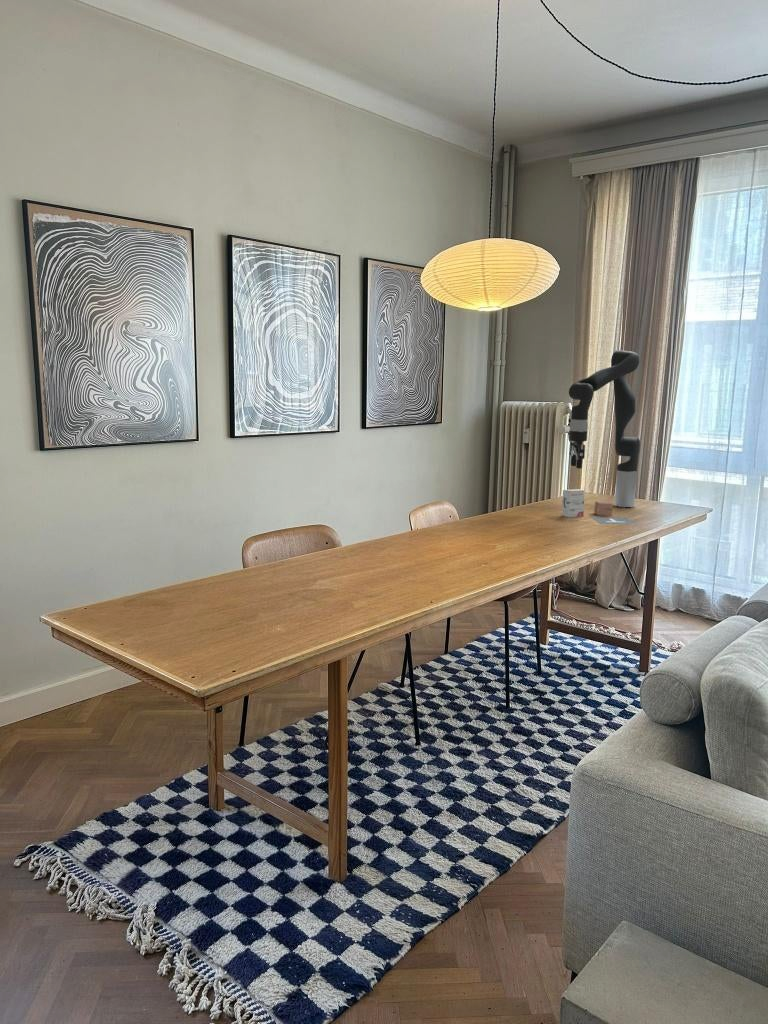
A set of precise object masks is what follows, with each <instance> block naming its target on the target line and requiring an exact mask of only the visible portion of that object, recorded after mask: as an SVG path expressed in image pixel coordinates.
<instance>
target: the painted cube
mask: <svg viewBox="0 0 768 1024" xmlns="http://www.w3.org/2000/svg"><path fill="white" fill-rule="evenodd" d="M613 504H614V503H612V502H611V501H609V500H595V501H594V509H593V510H594V511H593V513H594V514H595V515H596V516H597V517H613V516H612V515H613Z"/></svg>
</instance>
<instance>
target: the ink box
mask: <svg viewBox="0 0 768 1024" xmlns="http://www.w3.org/2000/svg"><path fill="white" fill-rule="evenodd" d="M584 505H585V490H584V489H580V488H579V489H563V490H562V504H561V516H563V517H566V518H575V517H584V511H585V508H584V507H585V506H584Z"/></svg>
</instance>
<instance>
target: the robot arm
mask: <svg viewBox="0 0 768 1024" xmlns="http://www.w3.org/2000/svg"><path fill="white" fill-rule="evenodd" d="M639 364H640V356H639V354H638V353H637V352H634V351H630V350H623V349H622V350H620V349H619V350H618V349H617V350H615V351H614V352H613V353H612V355H611V359H610V366H609V367H605V368H602V369H600V370H597V371H596V372H594V373H593V374H591V375H589V376H587V377H585V378H583V379H580V380H579V381H575V382H574V383H572V384H571V386H569V389H568V395H569V397H570V398H571V399H572V400H576V401H577V400H578V401H579V403H578V404H576V405H573V406H572V407H571V412H570V413H571V415H570V416H571V417H570V423H569V435H568V440H569V441H570V443H569V444H570V445H569V456H570V458H571V459H570V466H571V467H576V469H582V468H583V460H585V458H586V457H585V456H586V455H585V452H586V445H585V444H583V442H587V440H588V431H589V430H588V428H589V423H588V422H589V421H588V420H589V410H590V406H591V404H592V402H593V401H592V400H593V398H594V393H595V392H597V391H599V390H600V389H602V388H603V387H605V386H607V384H609V383H611V382H612V383H613V394H614V397H613V398H614V400H613V401H614V418H615V437H614V438H615V440H614V445H615V446H614V450H615V454H616V455H617V456H622V457H629V460H627V461H624V462H622V463H621V462H619V463H618V464H617V465H616V477H615V478H616V479H615V492H614V503H613V504H614V506H615V507H617V506H618V508H625V507H631V508H634V507H635V502H636V489H637V480H638V479H637V478H638V477H637V476H638V467H639V466H638V465H639V455H640V450H641V440H640V438H639V437H637V436H625V433H624V432H625V429H626V428H627V426H628V425H629V423H630V421H631V420H632V418H633V417H634V415H635V414H636V397H635V394H634V391H633V390H632V388H631V386H630V385H629V383H628V381H627V379H626V375H628V374H631V373H633V372H635V371H636V370H637V368H638V367H639Z"/></svg>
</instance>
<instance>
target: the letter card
mask: <svg viewBox="0 0 768 1024" xmlns="http://www.w3.org/2000/svg"><path fill="white" fill-rule="evenodd" d="M621 517H622V518H621ZM589 518H591V519H592V520H594V521H595V522H597V523H598V524H600V525H638V523H636V522H635V521H633V520H631V519H629V518H628V517H626V516H589Z"/></svg>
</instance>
